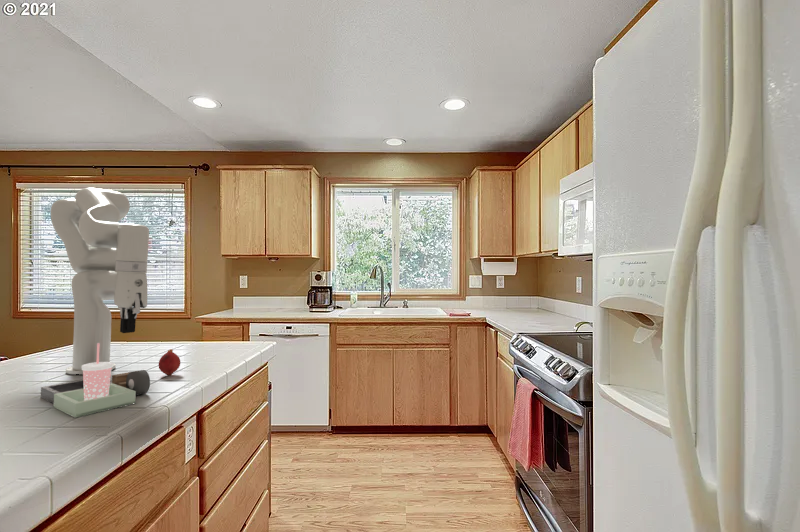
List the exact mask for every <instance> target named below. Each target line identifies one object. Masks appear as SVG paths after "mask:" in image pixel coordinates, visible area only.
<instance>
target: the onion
mask: <svg viewBox="0 0 800 532" xmlns="http://www.w3.org/2000/svg"><path fill="white" fill-rule="evenodd" d="M173 351H174V350H173V349H172V348H170V349H169V350H168V351H167V352H165V353H164V354H162V356H161V357H160V359H159V360H158V369H159V371H161V373H163V374H165V375H166V376H172V375H173V374H174V373H175V372H176V371H178V369H179V368H180V367H181V359H180V357H179V355H177V353H175V352H173Z"/></svg>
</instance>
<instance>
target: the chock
mask: <svg viewBox="0 0 800 532" xmlns="http://www.w3.org/2000/svg"><path fill="white" fill-rule="evenodd" d="M130 372H131V371H129V372H122V373H118V374H111V383H113V384H116V385H119V386H122V387H125V388H126V378H127V375H128V374H129V373H130ZM132 372H134V371H132Z"/></svg>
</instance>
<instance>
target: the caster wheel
mask: <svg viewBox="0 0 800 532" xmlns="http://www.w3.org/2000/svg"><path fill="white" fill-rule="evenodd" d="M129 372H130V373H129V374H128V375H127V378H126V388H128V389H131V390H134V391H136V396H138V395H143V394H147V393H148V392H149V390H150V387H151V379H150V375H149V372H148V371H147V370H146V369H141V370H135V371H134V372H133V371H129Z"/></svg>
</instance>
